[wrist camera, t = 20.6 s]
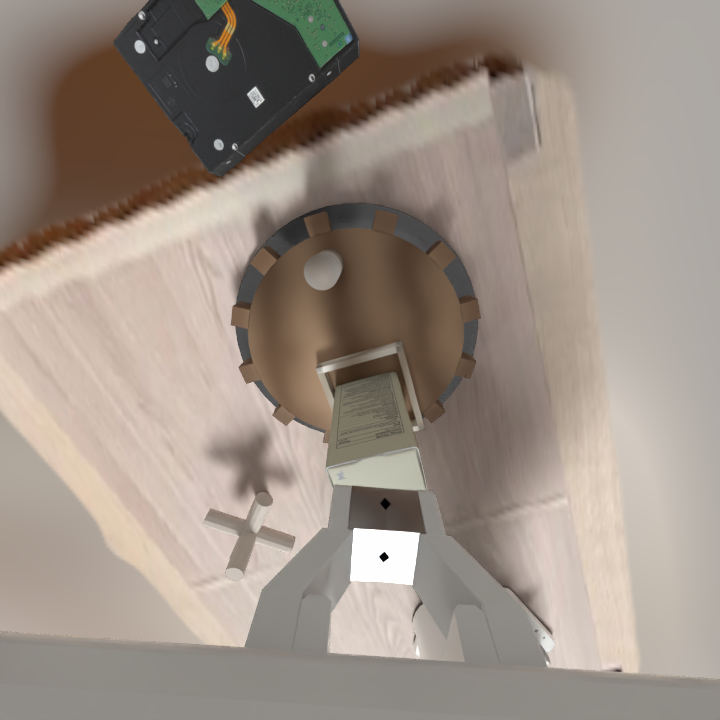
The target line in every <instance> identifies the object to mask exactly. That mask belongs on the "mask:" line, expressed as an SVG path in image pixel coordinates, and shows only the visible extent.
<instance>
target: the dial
mask: <svg viewBox="0 0 720 720" xmlns="http://www.w3.org/2000/svg"><path fill="white" fill-rule="evenodd" d="M397 219H398V215H397V214H393V213H389V212H385V211H381V210H376V212H375V217H374V221H373V225H372V230H371V229H361V228H349V229H339V230H332V226H331V223H330V220H329V217H328V213H327V212H325V211H324V212H321V213H318V214H315V215H312V216H309V217H306V218H304V221H305V224H306V227H307V230H308V233H309V236H310V238H308V239H306V240H304V241H302V242H301V243H299V244H297V245H296V246H294V247H292V248H291V249H290V250H288V251H287V252H286V253H285V254H283V255H282V256H280V255H279V254H278V253H277V252H276V251H274V250H273V249H272V248H271V247H270V246H265V247H262V248H261V250H260V251H259V252H258V253H257V255H256V256H255V257H254V258H253V260H252V261H251V262H250V264H251V265H252V266H254V267H255V268H256V269H257V270H258V271H259V272H260V273H262V274H263V275H264V277H263V279H262V280H261V282H260V284H259V286H258V288H257V290H256V292H255V295H254V298H253V301H252V304H250V303H246V302H239V303H237V304H236V305H234V306H233V308H232V319H231V325H233V326H237V327H242V328H246V329H248V341H249V348H250V353H251V357H252V358H249V359H246V360H245V361H244V362H243V363H242V364H241V365H240V366H239V369H240V372H241V374H242V376H243V378H244V380H245V382H246V384H247V383H251V382H254V381H258V380H261V381H262V383H263V384H264V386H265V387H266V388H267V390H268V391H269V393H270V394H271V395H272V396H273V397H274V398H275V399H276V401H277V402H278V403H279V404H278V405H277V407H276V409H275V411H274V413H273V415H272V416H274V417H275V418H276V419H278V420H279V421H280V422H282V423H283V424H284V425H286V426H287V425H288V424H289V423H290V422H291V421H292V420H293V419H294V418H295V417H297V418H299V419H301V420H302V421H304V422H306V423H308V424H310V425H313V426H315V427H318V428H320V429H323V430H325V434H324V439H323V442H324V443H329V438H330V429H331V421H332V413H333V405H334V398H335V390H336V387H337V386H339V385H342V384H346V383H349V382H353V381H357V380H360V379H364V378H368V377H372V376H376V375H380V374H384V373H389V372H396V373H397V376H398V380H399V383H400V386H401V390H402V393H403V397H404V400H405V404H406V407H407V411H408V414H409V418H410V421H411V424H412V428H413V431H414V432H415V431H419V430H423V429H425V428H424V424H423V420H422V417H421V414H422V415H423V416H424V417H426V418H427V419H428V420H429V421H430V422H431V423H432V422H434V421H435V420H436V419H437V418H438V417H440V416H441V415H442V414H443V413H444V412H445V410H444V408H443V406H442V404H441V402H440V401H439V400H438V399H439V397H440V396H441V395H442V394H443V392H444V391H445V390H446V388H447V387H448V385H449V384H450V382H451V380H452V379H453V377H454V375H456V376H460V377H465V378H469V379H470V376H471V374H472V371H473V368H474V366H475V363H476V361H475V360H474V359H473V357H472V356H471V355H470V354H468V353H463V352H462V349H463V343H464V323H466V322H469V321H473V320H477V319H480V318H481V317H480V311H479V305H478V300H477V299H476V298H475V297H473V296H472V295H468V296H464V297H461V298H458V297H457V295H456V292H455V290H454V288H453V286H452V284H451V282H450V281H449V279H448V277H447V276H446V274H445V273H444V272H443V270H444V269H445V268H446V267H447V266H448V265H449V264H450V263H451V262H452V261H453V260H454V259H455V258H456V256H455V254H454V253H453V252H452V251H451V250H450V249H449V248H448V247H447V246H446V245H445V244H444V242H443V241H438V240H437V241H436V242H435V243H434V244H433V245H432V246H431V247H430V248H429V249H428V250H427V251H426V252H424V251H422V250H421V249H419V248H418V247H416V246H415V245H413V244H412V243H410V242H408V241H406V240H404V239H402V238H400V237H398V236H395V235H393V234H394V230H395V226H396V222H397ZM414 418H416V419H414ZM413 419H414V420H413Z"/></svg>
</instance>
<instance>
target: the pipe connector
mask: <svg viewBox="0 0 720 720" xmlns="http://www.w3.org/2000/svg"><path fill="white" fill-rule="evenodd" d="M272 503H273V498H272V497H271V495H269V494H268V493H266V492H259V493H257V494H256V497H255V499H254V501H253V504H252V506H251V509H250V511H249V514H248V516H247V519H246V520H244V519H241V518H238V517H235V516H232V515H229V514H226V513H223V512H220V511H217V510H214V509H210V510H209V512H208V514H207V516H206V518H205V520H204V522H203V525H202V526H204V527H208V528H211V529H214V530H217V531H220V532H223V533H226V534H229V535H232V536H235V537H238V540H237V542H236V545H235V547H234V549H233V552H232V554H231V556H230V561H229V563H228V566H227V568H226V571H225V575H226V577H227V578H228V579H230V580H234V581H237V580H241V579H242V578H243V576H244V573H245V570H246V567H247V564H248V562H249V559H250V556H251V553H252V550H253V547H254V544H255V543H257V544H260V545H263V546H266V547H269V548H272V549H275V550H279V551H282V552H285V553H288V554H290V553H291V551H292V548H293V545H294V542H295V536H292V535H289V534H286V533H283V532H280V531H277V530H274V529H271V528H268V527H265V526H262V524H263V522H264V520H265V518H266V516H267V514H268V511H269V509H270V507H271V505H272Z"/></svg>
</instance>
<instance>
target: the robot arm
mask: <svg viewBox="0 0 720 720" xmlns="http://www.w3.org/2000/svg"><path fill="white" fill-rule="evenodd" d="M351 580H357V581H383V582H393V583H404V584H412V586H413V588H414V590H415V591H416V593H417V594H418V596H419V598H420V599H421V601H422V602H423V604H422V605H421V606H420V607H419V608H418V610H417V611H416V613H415V615H414V618H413V628H414V631H415V634H416V638H415V641H414V649H415V653H416V655H418V656H420V659H410V658H395V657H380V656H366V655H351V654H336V653H330V630H331V613H332V611H333V609H334V608H335V606H336V605H337V603H338V602H339V600H340V598H341V597H342V595H343V594H344V592H345V591H346V589H347V587H348V586H349V584H350V583H351ZM554 645H555V641H554V639H553V636H552V635H551V633H550V632H549V631H548V630H547V629H546V628H545V627H544V626H543V625H542V623H541V622H540V621H539V620H538V619H537V618H536V617H535V616H534V615H533V614H532V613H531V611H530V610H529V609H528V608H527V607H526V606H525V605H524V604H523V603H522V602H521V601H520V599H519V598H518V597H517V596H516V595H515V594H514V593H513V592H512V591H511V590H510V589H509V588H503V587H502V586H501V585H500V584H499V583H498V582H497V581H496V580H495V579H494V578H493V577H492V576H491V575H490V574H489V573H488V572H487V571H486V570H485V569H484V568H483V567H482V566H481V565H480V564H479V563H478V562H477V561H476V560H475V559H474V558H473V557H472V556H471V555H470V554H469V553H468V552H467V551H466V550H465V549H464V548H463V547H462V546H461V545H460V544H459V543H458V542H457V541H456V540H455V539H454V538H453V537H452V536H446V532H445V528H444V525H443V521H442V517H441V513H440V509H439V506H438V502H437V498H436V494H435V492H434V491H433V490H407V489H389V488H376V487H364V486H353V485H352V488H351V486H349V485H338V484H335V485H334V488H333V495H332V502H331V509H330V516H329V523H328V528H322V529H321V530H320V531H319V532H318V533H317V534H316V535H315V536H314V537H313V538H312V539H311V540H310V541H309V542H308V543H307V544H306V545H305V546H304V547H303V548H302V549H301V550H300V551H299V553H298V554H297V555H296V556H295V557H294V558H293V559H292V560H291V561H290V562H289V563H288V564H287V565H286V566H285V567H284V568H283V569H282V570H281V571H280V572H279V573H278V574H277V575H276V576H275V577H274V578H273V579H272V580H271V581H270V582H269V583H268V584H267V585H266V586H265V587H264V588H263V589H262V592H261V595H260V598H259V602H258V605H257V608H256V611H255V615H254V618H253V621H252V624H251V628H250V631H249V634H248V637H247V641H246V644H245V647H230V646H215V645H199V644H185V643H170V642H155V641H140V640H125V639H110V638H95V637H78V636H64V635H49V634H34V633H19V632H3V631H0V720H720V679H715V678H700V677H699V678H698V677H685V676H670V675H655V674H640V673H625V672H610V671H595V670H580V669H564V668H549V667H548V666H550V664H551V662H550V659H549V657H548V655H547V654H548V653H549V652H550V651H551V650H552V648H553V647H554Z"/></svg>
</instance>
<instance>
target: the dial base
mask: <svg viewBox="0 0 720 720" xmlns="http://www.w3.org/2000/svg"><path fill="white" fill-rule="evenodd" d="M376 210H381V211H385V212H389V213H393V214H397V215H398V219H397V222H396V226H395V230H394V234H393V235H395V236H398V237H400V238H402V239H404V240H406V241H408V242H410V243H412V244H413V245H415V246H416V247H418V248H419V249H421V250H422V251H424V252H426V251H427V250H428V249H429V248H430V247H431V246H432V245H433V244H434V243H435V242H436V241H437V240H438V241H443V242H444V244H445V245H446V246H447V247H448V248H449V249H450V250H451V251H452V252H453V253H454V254H455V256H456V258H455V259H454V260H453V261H452V262H451V263H450V264H449V265H448V266H447V267H446V268H445V269H444V270H443V272H444V273H445V274H446V276H447V277H448V279H449V281H450V282H451V284H452V286H453V288H454V290H455V292H456V295H457V297H458V298H461V297H464V296H468V295H472V296H473V297H475V294H474V291H473V287H472V284H471V281H470V279H469V276H468V274H467V272H466V270H465V268H464V266H463V264H462V263H461V261H460V260H459V258H458V256H457V255H456V253H455V252H454V251H453V250H452V248H451V247H450V246H449V245H448V244H447V243H446V242H445V240H444V239H443V238H442V237H440V236H439V235H438V234H437V233H436V232H435V231H433V230H432V229H431V228H430V227H428V226H427V225H425V224H424V223H422V222H420V221H419V220H417V219H416V218H414V217H411V216H409V215H407V214H405V213H403V212H400V211H398V210H394V209H391V208H387V207H384V206H379V205H371V204H364V203H358V204H340V205H333V206H327V207H324V208H321V209H318V210H314V211H311V212H309V213H307V214H305V215H302V216H300V217H298V218H296V219H294V220H293V221H291V222H290V223H288V224H287V225H285V226H284V227H282V228H281V229H279V230H278V231H277V232H276V233H275V234H274V235H273V236H272V237H271V238H269V239H268V240H267V241H266V243H265V244H264V245H263V246H262V247H265V246H270V247H271V248H272V249H273V250H274V251H276V252H277V253H278V254H279V255H280V256H282V255H283V254H285V253H286V252H287V251H288V250H290V249H291V248H292V247H294V246H296V245H297V244H299V243H301V242H302V241H304V240H306V239H308V238H310V236H309V233H308V230H307V227H306V224H305V221H304V218H306V217H309V216H312V215H315V214H318V213H321V212H324V211H325V212H327V213H328V217H329V220H330V223H331V226H332V230H339V229H349V228H361V229H371V230H372V225H373V221H374V217H375V212H376ZM262 247H261V248H262ZM260 250H261V249H260ZM260 250H259V251H260ZM259 251H258V252H259ZM258 252H257V253H258ZM257 253H256V255H257ZM256 255H255V256H256ZM263 277H264V275H263V274H262V273H260V272H259V271H258V270H257V269H256V268H255V267H254V266H252V265H251V264H250V265H249V267H248V268H247V271H246V273H245V275H244V278H243V280H242V283H241V286H240V290H239V294H238V297H237V303H239V302H246V303H250V304H252V301H253V298H254V295H255V292H256V290H257V288H258V286H259V284H260V282H261V280H262V279H263ZM477 329H478V319H477V320H473V321H469V322H466V323H464V343H463V349H462V352H463V353H468V354H470V355H471V356H472V355H473V352H474V348H475V344H476V338H477ZM236 334H237V341H238V346H239V349H240V353H241V356H242V359H243V361H245V360H246V359H249V358H252V357H251V353H250V348H249V341H248V329H246V328H242V327H237V326H236ZM462 378H463V377H460V376H456V375H454V377H453V379H452V380H451V382H450V384H449V385H448V387H447V388H446V390H445V391H444V392H443V394H442V395H441V396H440V397H439V399H438V400H439V401H440V402H441V404H442V403H443V402H444V401H445V400H446V399H447V398H448V397H449V396H450V395H451V394H452V392H453V391H454V390H455V388H456V387H457V386H458V384H459V383H460V381H461V379H462ZM254 383H255V384H256V386H257V387H258V388H259V389H260V391H261V392H262V393H263V394H264V396H265V397H266V398H267V399H268V400H269V401H270V402H271V403H272V404H273V405H274V406H275V407H277V405H278V404H279V403H278V402H277V401H276V399H275V398H274V397H273V396H272V395H271V394H270V393H269V391H268V390H267V388H266V387H265V386H264V384H263V383H262V381H261V380H258V381H254ZM421 417H422V419H423V418H424V416H423V415H422V414H421ZM414 419H416V418H414ZM414 419H413V420H414ZM293 420H295V421H297V422H298V423H301V424H303V425H305V426H307V427H309V428H312V429H314V430H317V431H320V432H323V433H325V430H323V429H320V428H318V427H315V426H313V425H310V424H308V423H306V422H304V421H302V420H301V419H299V418H297V417H295V418H294V419H293Z"/></svg>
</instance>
